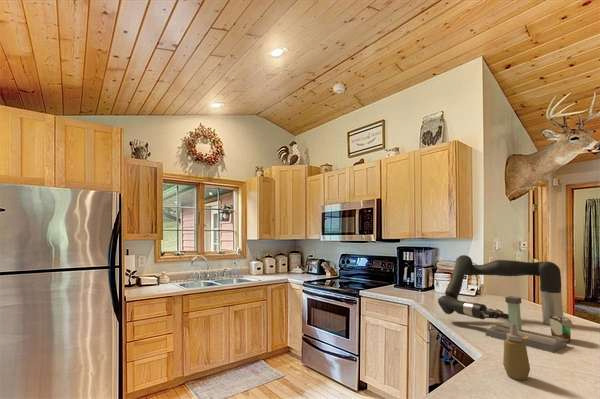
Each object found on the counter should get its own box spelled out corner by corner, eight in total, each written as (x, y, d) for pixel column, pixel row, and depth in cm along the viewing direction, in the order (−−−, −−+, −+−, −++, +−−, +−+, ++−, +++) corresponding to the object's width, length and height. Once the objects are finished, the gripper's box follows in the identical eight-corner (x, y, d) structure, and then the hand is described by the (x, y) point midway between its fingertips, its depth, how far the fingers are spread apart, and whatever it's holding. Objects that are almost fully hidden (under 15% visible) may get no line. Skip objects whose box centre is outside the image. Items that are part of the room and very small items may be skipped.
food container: (580, 344, 149) (578, 321, 150) (564, 343, 151) (562, 321, 151) (564, 336, 161) (562, 314, 162) (550, 335, 163) (548, 314, 164)
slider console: (500, 330, 171) (500, 322, 172) (566, 346, 148) (566, 336, 148) (485, 335, 164) (485, 326, 164) (553, 352, 140) (552, 342, 141)
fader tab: (512, 329, 162) (509, 296, 164) (523, 332, 158) (521, 297, 160) (507, 331, 160) (505, 297, 161) (519, 333, 156) (516, 299, 157)
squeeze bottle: (498, 372, 121) (495, 321, 123) (519, 371, 122) (515, 320, 124) (514, 382, 113) (510, 328, 115) (537, 381, 114) (532, 327, 116)
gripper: (467, 304, 173) (502, 311, 158) (481, 301, 180) (516, 307, 165) (468, 319, 172) (503, 327, 157) (482, 315, 179) (517, 322, 164)
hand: (510, 317), depth 161 cm, fingers closed
